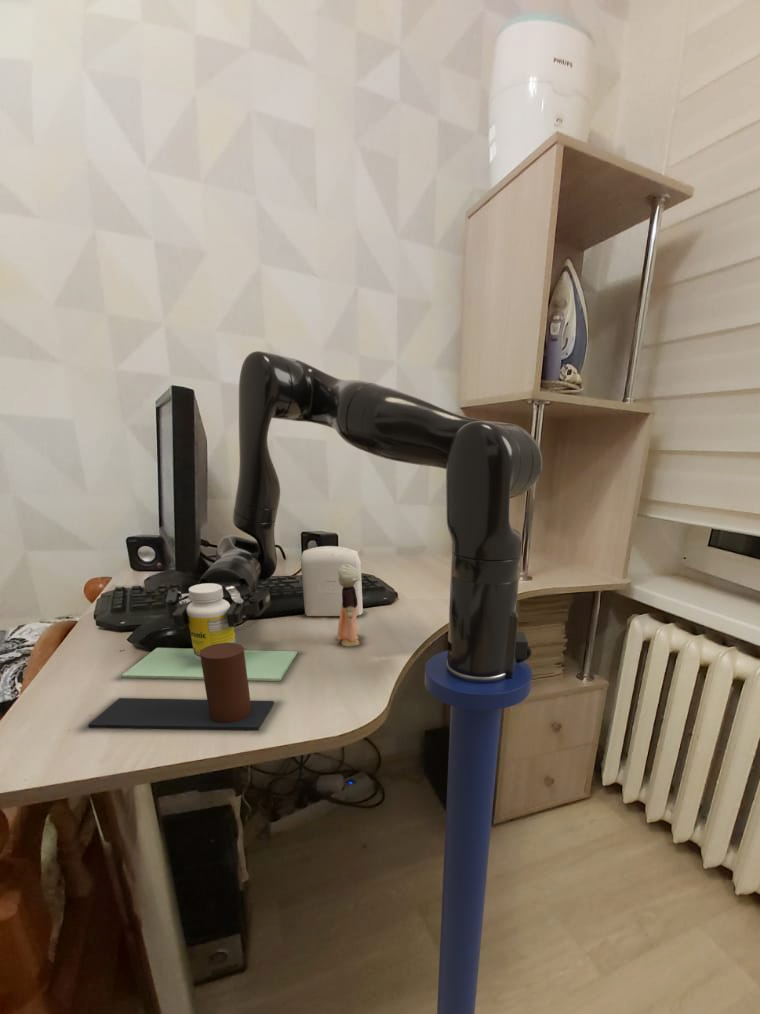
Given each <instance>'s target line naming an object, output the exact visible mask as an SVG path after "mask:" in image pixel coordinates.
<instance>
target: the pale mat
mask: <svg viewBox="0 0 760 1014" xmlns="http://www.w3.org/2000/svg"><path fill="white" fill-rule="evenodd" d="M244 654H245V662H246V670H247V678H248V681H254V682H255V681H256V682H257V681H258V682H259V681H260V682H280V681H281V680H282V679H283V677H284V676H285V673H286V672H287V670H288V669H289V668H290V666H291V664H292V663H293V661H294V660H295V658H296V657H297V655H298V651H296V650H295V651H294V650H293V651H292V650H260V649H259V650H253V649H250V650H249V649H244ZM121 678H123V679H124V678H125V679H163V680H165V679H166V680H167V679H168V680H169V679H171V680H204V676H203V670H202V664H201V660H199V659H197V658H196V657H195V655H194V651H193V648H182V647H181V648H179V647H156V648H155V649H153V650H152V651H151V652H149V653H148V654H147V655H146V656H144V657H143V658H142V659H141V660H139V661H138V662H136V663H135V664H134V665H132V666H131V667H130V668H129V669H128V670H126V671H125V672H124V673H123V674H122V675H121Z"/></svg>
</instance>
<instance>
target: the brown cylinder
mask: <svg viewBox="0 0 760 1014" xmlns="http://www.w3.org/2000/svg"><path fill="white" fill-rule="evenodd" d="M244 650H245V647H244V646H243V645H242V644H241V643H237V642H236V643H219V644H214V645H210V646H207V647H205V648H203V649H202V650H201V651H200V658H201V664H202V670H203V676H204V679H203V682H204V689H205V695H206V700H207V701H208V708H209V714H210V718H211V719H212V720H214V721H216V722H222V723H227V722H234V721H238V720H241V719H243V718H245V717H247V716H248V715H249V714H250V713H251V702H250V701H251V696H250V687H249V680H248V678H247V670H246V662H245V654H244Z"/></svg>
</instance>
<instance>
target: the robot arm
mask: <svg viewBox="0 0 760 1014" xmlns="http://www.w3.org/2000/svg"><path fill="white" fill-rule="evenodd" d="M272 419H277V420H284V421H294V422H305V423H306V422H307V423H312V424H317V425H322V426H325V427H328V428H332V429H333V430H334V431H336V433H337V434H338V435H339V437H340V438H342V440H344V441H345V443H347V444H349V445H351V446H352V447H354V448H356V449H358V450H361V451H363V452H366V453H369V454H371V455H374V456H376V457H379V458H381V459H386V460H389V461H395V462H399V463H403V464H410V465H418V466H425V467H434V468H438V469H444V470H445V479H446V480H445V495H446V497H445V499H446V500H445V501H446V503H445V505H446V506H445V507H446V524H447V529H448V532H449V535H450V539H451V560H450V563H451V564H450V585H449V586H450V588H449V608H448V609H449V610H448V611H449V612H448V633H447V641H446V647H447V651H448V653H447V665H446V668H447V671H448V673H449V674H450V675H452V676H453V677H455V678H457V679H460V680H463V681H466V682H472V683H493V682H498V681H501V680H504V679H512V678H513V668H514V659H516V660H515V661H516V662H517V663H518V664H519V663H521V662H523V661H524V662H525V661H527V660H528V659H529V658H530V657H531V655H532V648H531V647H530V646H529V642H528V639H527V637H526V634H525V631H518V624H519V614H518V612H517V604H518V603H517V602H518V594H519V593H518V592H519V581H520V571H521V559H522V551H523V536H522V534H521V532H520V531H518V530H517V529H515V528H514V527H512V524H511V522H510V502H511V501H510V499H512V498H516V497H519V496H520V495H522V494H524V493H526V492H528V491H529V490H531V488H533V486H535V484H536V483H537V482H538V480H539V478H540V477H541V474H542V471H543V455H542V451H541V447H540V446H539V445H538V441H536V439H535V438H534V437H533V435H531V433H530V432H528V430H526V429H525V428H523V427H521V426H519V425H518V424H514V423H509V422H500V421H489V420H484V419H479V418H473V417H468V416H464V415H461V414H458V413H454V412H453V411H449V410H447V409H445V408H443V407H441V406H438V405H435V404H433V403H431V402H428V401H426V400H423V399H421V398H418V397H416V396H413V395H410V394H408V393H405V392H402V391H400V390H397V389H394V388H390V387H387V386H384V385H380V384H377V383H374V382H370V381H365V380H359V379H341V378H338V377H335V376H333V375H330V374H328V373H326V372H324V371H323V370H320V369H318V368H316V367H314V366H312V365H311V364H309V363H306V362H305V361H302V360H299V359H296V358H292V357H288V356H284V355H280V354H276V353H271V352H267V351H263V350H262V351H259V350H255V351H252V352H250V353H249V354H248V355H246V357H245V359H244V360H243V362H242V365H241V369H240V373H239V381H238V446H239V447H238V449H239V452H238V454H239V455H238V456H239V467H238V468H239V469H238V479H237V488H236V494H235V500H234V505H233V512H232V522H233V523H232V524H233V525H234V526H235V528H237V529H238V530H239V531H241V532H242V533H245V534H247V535H248V536H250V537H252V538H253V539H251V538H246V537H243V536H240V535H234V534H229V535H225V536H224V537H222V538H221V539H220V540H219V542H218V544H217V546H216V550H215V551H216V552H215V561H214V562H213V563H212V564H211V566H209V568H208V569H206V571H205V572H204V573H203V574H202V575H201V577H200V579H199V581H198V583H197V585H198V584H206V583H212V584H219V585H221V586H222V590H223V598H222V599H224V600H226V601H227V602H229V604H230V608H229V609H228V611H227V620H228V626H229V627H234V628H235V627H236V625H238V624H239V625H240V624H241V623H242V621H243V619H246V617H247V615H250V616H251V617H252V618H257V617H260V616H261V615H262V614H263V613H264V612H265V611H266V610H267V608H269V607H270V606H271V604H272V603H271V593H270V588H268V587H262V588H260V589H259V590H257V589H258V582H259V581H266V580H268V579H270V578H271V577H272V576H273V575H274V574H275V572H276V569H277V566H278V555H277V549H276V548H277V547H276V541H275V526H276V519H277V515H278V510H279V504H280V499H281V485H280V480H279V476H278V473H277V471H276V468H275V466H274V463H273V460H272V457H271V454H270V450H269V449H270V448H269V444H268V443H269V442H268V436H269V431H270V430H269V429H270V425H271V422H272ZM192 602H193V601H191V599H190V595H189V592H188V593H182V591H179V589H177V588H171V589H168V591H167V594H166V597H165V607H166V611H167V615H168V619H170V620H171V619H172V620H173V624H174V626H177V628H178V629H180V630H181V629H186V628H187V627H188V626H189V623H188V617H187V611H186V610H187V606H188V605H189V604H190V603H192Z"/></svg>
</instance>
